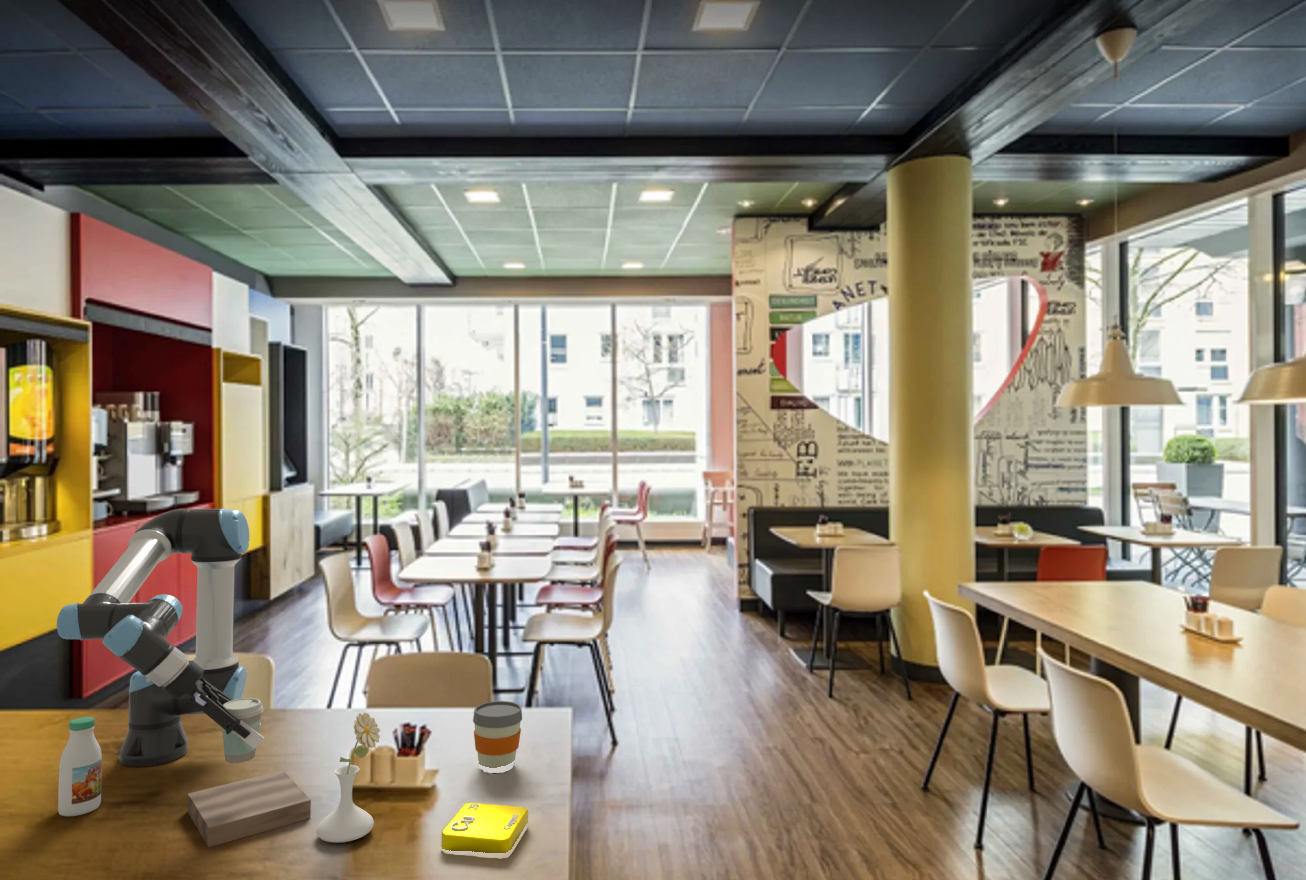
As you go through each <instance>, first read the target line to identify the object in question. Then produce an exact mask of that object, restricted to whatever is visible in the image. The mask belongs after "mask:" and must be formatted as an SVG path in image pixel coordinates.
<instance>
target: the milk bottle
mask: <svg viewBox="0 0 1306 880" xmlns="http://www.w3.org/2000/svg"><path fill="white" fill-rule="evenodd" d="M68 723H69V724H68V727H69V728H68V729H69V730H68V733H69V738H68V742H67V743H66V745H65V746H64V748H63V750H62V754H60V755H61V756H60V759H59V768H58V770H59V771H58V772H59V773H58V792H57V793H58V797H57V798H58V799H57V811H58V814H59V815H60V816H62V817H76V816H77V817H78V816H82V815H86V814H88V813H91V812H93V811H95V810H96V809H98V808H99V807H100V805H101V803H102V778H103V777H102V775H103V774H102V772H103V771H102V769H103V767H102V766H103V756H102V749H101V746H100V744H99V742H98V740H97V739H96V736H95V734H94V729H95V723H96V721H95V718H94V717H92V716H83V717H79V718H74V719H72V720H71V721H69V722H68Z"/></svg>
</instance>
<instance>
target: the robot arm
mask: <svg viewBox="0 0 1306 880" xmlns="http://www.w3.org/2000/svg"><path fill="white" fill-rule="evenodd" d="M249 545H250V528H249V523H248V520H247V518H246V516H245V514H244V512H242V511H240V510H238V509H230V508H229V509H227V508H191V509H190V508H178V509H172V510H169V511H166V512H163V513H161V514H158V515H157V516H155V517H153V518H151V519H150V520H148V521H146V522H145V523H144V524H143V525H141V526H140V527H139V528H137V530H135V532H134V533H133V534H132V535H131V537H130V539H129V541H128V548H127V549H126V550H124V552H123V554H121V556H120V557H119V559H118V560H117V561H116V562H115V563H114V565H113V566H111V568H110V570H109V571H108V572H107V573H106V574H105V575H104V577H103V578H102V580H100V581H99V583H98V584H97V585H96V586H95V588H94V589H93V591H92V592H91V593H89V595H88V597H87V598H85V600H84V601H83V602H82V603H79V602H76V603H72V604H71V603H70V604H66V605H64V606H63V607H62V608H61V609H60V611H59V613H58V615H57V617H56V630H57V633H58V636H59V637H60V638H62V639H63V640H64V639H65V640H80V641H83V640H102V644H103V646H104V647H106V648H107V649H108V650H109V651H111V653H113V654H112V655H114V656H115V657H118V658H119V659H120V660H122V661H124V662H125V663H127V664H128V665H129V666H131V667H132V668H134V669H135V670H136V671H135V672H133V674H132V675H131V677H130V679H129V689H128V690H127V691H128V727H127V728H128V730H127V732H126V735H125V738H124V740H123V743H122V745H121V748H120V751H119V759H118V760H119V761H118V762H119V763H120V764H121V765H123V766H124V767H134V768H135V767H137V768H140V767H150V766H156V765H157V766H158V765H161V764H165V763H170V762H172V761H175V760H177V759H179V758H181V757H184V756H185V755H186V754H187V752H188V751H189V740H188V738H187V737H188V736H187V735H186V732H185V729H184V728H183V725H182V716H188V715H189V716H190V715H206V716H208V718H210V719H211V720H213V722H215V723H216V724H217V725H219V726H220V727H221V729H222V728H223V729H225V730H226V734H229V733H230V732H232V733H234V734H235V735H236V736H238V737H239V738H240V739H242V740H243V741H244V742H246V743H247V744H248V745H250V746H251V747H252V748H254V749H255V748H256V749H257V747H258V746H259V745H260V744H261V743H263V741H264V740H265V737H264V736H263V735H261V734H260V733H258V732H256V731H255V730H254V729H252V728H251V727H250V726H248V725H247V724H246V723H245V722H243V721H242V720H239V719H237V718H236V717H235V716H234V715H233V714H232V713H231V712H230V711H229V710H227V709H226V708H225V707H224V706H223V705H224V704H225V703H227V702H229V701H232V700H236V699H242V698H243V694H244V691H245V688H246V682H247V675H248V674H247V668H246V667H245V666H241V665H240V666H239V662H240V659H239V658H238V657H237V656H236V655H235V654H234V653H233V645H234V643H233V642H234V603H235V602H234V601H235V598H234V597H235V565H236V564H237V563H238V562H239V561H241V560H242V554H245V553H246V552H247V551H248V549H249ZM173 554H190V562H191V563H193V565H194V566H196V567H197V573H196V574H197V580H196V584H197V585H196V626H195V627H196V629H195V631H196V632H195V657H194V658H193V659H192V660H189V656H188V655H186V654H185V653H184V652H182V651H181V650H180V649H179V648H177V647H176V646H174V645H173V644H172V643H170V642H169V641H167V640H166V639H167V637H168V636H169V635H170V633H171V632H172V631H173V629H175V627H176V626H177V625H178V622H179V621H180V619H181V616H182V615H183V610H184V609H183V608H184V607H183V605H182V603H181V601H180V600H179V599H178V598H176V597H175V596H173V595H170V594H165V593H163V594H157V595H156V596H153V597H151V598H150V599H149V600H147V602H131V600H132V599H133V598H134V596H135V595H136V594H137V593H138V591H139V590H140V588H141V587H142V586H143V584H144V583H145V581H146V580H147V579H148V577H149V576H150V575H151V573H152V572H153V571H154V569H155V568H156V566H157V565H158V564H159V563H161V562H163V561H164V560H166V559H167V558H168V557H169V556H170V555H173ZM261 726H262V724H261V722H260V726H259V728H260V727H261Z"/></svg>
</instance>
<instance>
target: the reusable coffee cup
mask: <svg viewBox="0 0 1306 880" xmlns="http://www.w3.org/2000/svg"><path fill="white" fill-rule="evenodd" d="M522 710H523V709H522V706H521V705H520V704H519V703H518V702H517V703H516V702H514V701H508V700H507V701H506V700H498V701H497V700H495V701H488V702H484V703H481V704H479V705H477V706H475V708H474V711H473V717H472V721H473V724H474V731H473V738H474V746H475V748H474V749H475V751H476V752H477V760H478V761H479V762H478V765H479V764H480V765H482V766H485V767H489V768H497V767H501V766H506V765H508V764H510V763H512V762H513V761H514V760H515V761H516V755H517V750H518V749H519V745H520V738H521V732H522V728H521V721H523V712H522Z"/></svg>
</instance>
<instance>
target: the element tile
mask: <svg viewBox="0 0 1306 880" xmlns="http://www.w3.org/2000/svg"><path fill="white" fill-rule="evenodd" d="M527 823H528V824H529V809H528V808H527V807H524V806H517V805H516V806H515V805H504V804H495V803H481V802H467V803H465V804H463V805H462V806H461V807H460V808H459V810H458V811H457V812H456V814H455V815H454V816H453V817H452V818H451V819H450V820H449V822H448V823H447V824H446V826H445V827H444V828H443V829H442V831H441V843H440V844H441V846H440V847H442V849H445V850H449V851H450V850H451V851H472V852H473V851H474V852H483V853H484V852H485V853H506V852H508V851H509V850H511V849H512V847H513V846H514V844H515V842H516V841H517V839H518V838H519V836H520V834H521V832H522V831H523V829H524V827H525V826H526V824H527Z"/></svg>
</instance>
